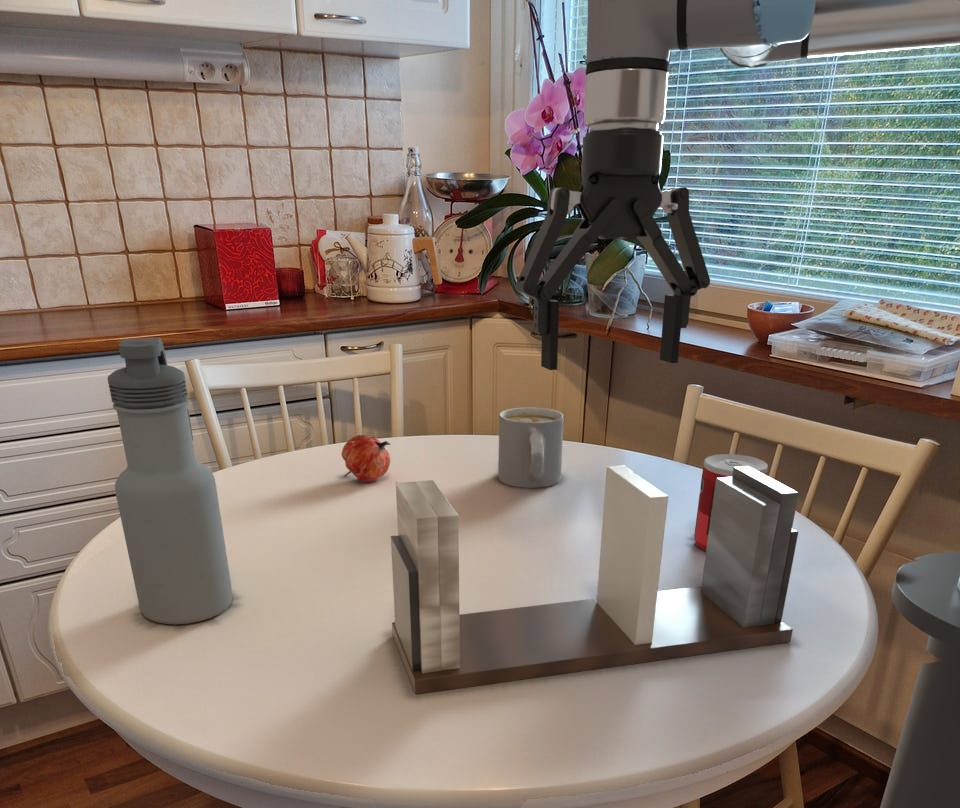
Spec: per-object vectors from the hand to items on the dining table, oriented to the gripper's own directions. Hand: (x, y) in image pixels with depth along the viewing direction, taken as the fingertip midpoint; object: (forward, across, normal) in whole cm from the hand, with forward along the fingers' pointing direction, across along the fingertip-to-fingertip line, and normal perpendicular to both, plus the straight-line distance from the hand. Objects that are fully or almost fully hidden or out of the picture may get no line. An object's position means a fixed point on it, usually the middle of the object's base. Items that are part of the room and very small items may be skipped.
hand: (609, 365), depth 89 cm
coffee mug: (+24, -4, -38) cm, 45 cm away
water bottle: (+24, +46, -6) cm, 53 cm away
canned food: (+24, -20, -6) cm, 32 cm away
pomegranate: (+23, +20, -46) cm, 55 cm away
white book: (+23, +3, +14) cm, 27 cm away
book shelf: (+25, +6, +14) cm, 29 cm away
